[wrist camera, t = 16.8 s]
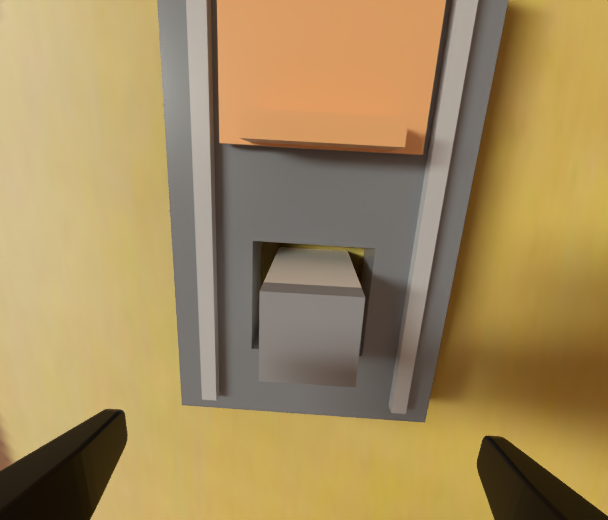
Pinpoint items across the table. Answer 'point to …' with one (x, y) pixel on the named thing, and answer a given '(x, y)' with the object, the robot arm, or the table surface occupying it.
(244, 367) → the socket block
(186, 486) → the table surface
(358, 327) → the plug
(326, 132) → the shutter
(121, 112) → the table surface
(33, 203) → the table surface
